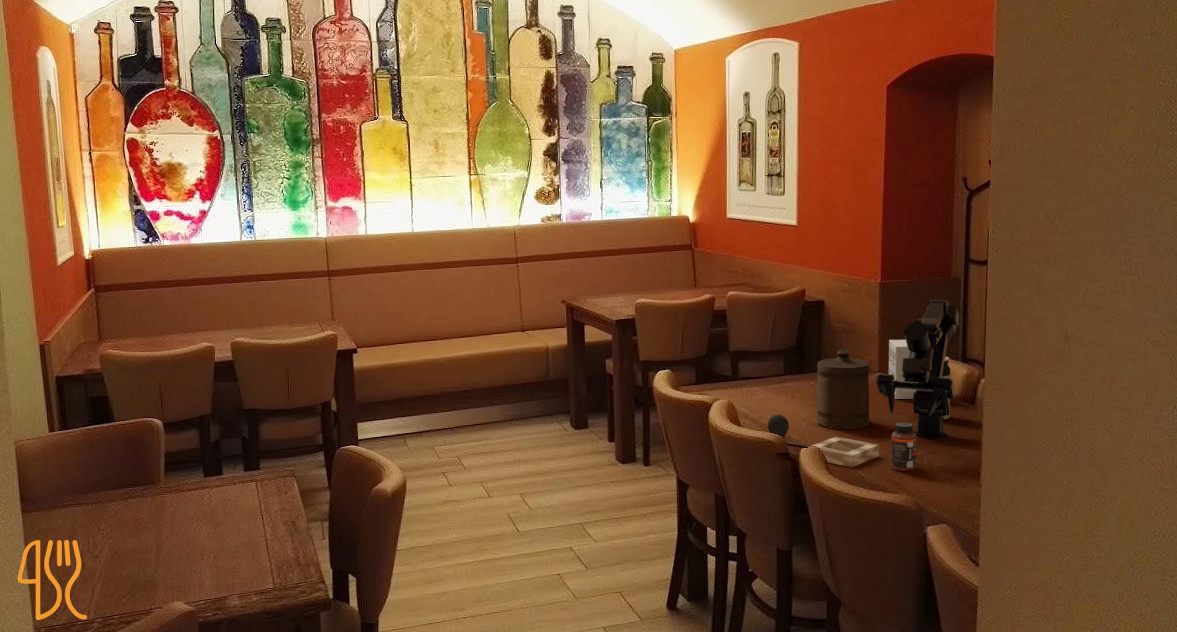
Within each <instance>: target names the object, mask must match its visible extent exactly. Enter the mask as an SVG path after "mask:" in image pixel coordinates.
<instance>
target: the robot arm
mask: <svg viewBox="0 0 1177 632" xmlns="http://www.w3.org/2000/svg"><path fill="white" fill-rule="evenodd" d="M925 310H926V311H925V312H924V314H923V316H922V318H919V319H914V320H913V322H912V323H910V324H907V326H906V327H905V328H904V331H903V334H904V340H906V343H907V347H908V349H909V350H910V354H909V358H903V364H902V371H903V374H902V376H903V378H905V379H904V380H894V376H893V375H890V374H889V373H888V374H887V373H879V374H878V375H877V376H876V380H875V383H876V386H877V390H878V393H880V394H881V395H883V397H887V399H888V406H889V411H890V414H893V412H894V409H895V408H894V407H895V404H896V403H895V402H896V400H895V393H894V392H895V390H896V388H905V389H913V390H916V392H914V395H913V400H912V407H913V414H915V415H916V414H918V419H917V431H913V432H914V433H915V434H916V436H921V437H925V438H927V439H935V438H936V439H937V438H940V437H946V436H948V433H947V432H944V420H943V416H946V415H949V414H951V413H950V412H951V411H950V410H951V409H950V408H949V401H948V399H950V400H953V399H954V397H955V385H954V381H953V380H952V378H950V379H949V378H942V374H943V367H944V361H945V356H946V355H947V354H946V353H947V347H948V341H949V339H951V337H952V336H953V335H954V334H955V333H956V329H957V326H959V322H960V314H959V311H958V309H957V307H954V306H953V305H951V304H950V303H949V301H947V300H945V299H942V300H941V299H932V300H928V304H927V307H926V309H925ZM941 409H943V410H941Z"/></svg>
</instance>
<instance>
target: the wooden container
mask: <svg viewBox="0 0 1177 632" xmlns="http://www.w3.org/2000/svg"><path fill="white" fill-rule="evenodd" d="M836 354H837V357H833V358H825V359H822V360H818V361H817V364H816V365H817V376H816V377H817V381H816V383H817V385H816V387H817V388H816V423H817V422H818V423H819V424H821V425H824V426H827V427H832V428H831V429H833V428H839V429H838V430H857V428H858V429H862V427H863V428H866V427H868V426H869V425H870V389H869V388H870V387H869V386H870V385H869V384H870V382H869V381H870V380H869V378H870V376H869V374H870V373H869V372H870V365H869V363H870V362H868V361H866V360H865V359H864V360H863V359H859V358H850V357H849V355H850V351H849V350H847V349H846V348H841V349H839V350H837V352H836ZM818 423H817V424H818ZM819 424H818V425H819ZM821 425H820V426H821ZM824 426H823V427H824ZM827 427H826V428H827Z"/></svg>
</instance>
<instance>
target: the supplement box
mask: <svg viewBox="0 0 1177 632" xmlns="http://www.w3.org/2000/svg"><path fill="white" fill-rule="evenodd" d="M909 354H910V350H909V349H908V347H907V343H906V339H889V340H888V374H890V375H893V376H894V380H904V379H905V378H903V376H902V374H903V371H902V364H903V358H909ZM914 392H916V390H913V389H905V388H896V390H895V392H894V393H895V399H913V395H914Z"/></svg>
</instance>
